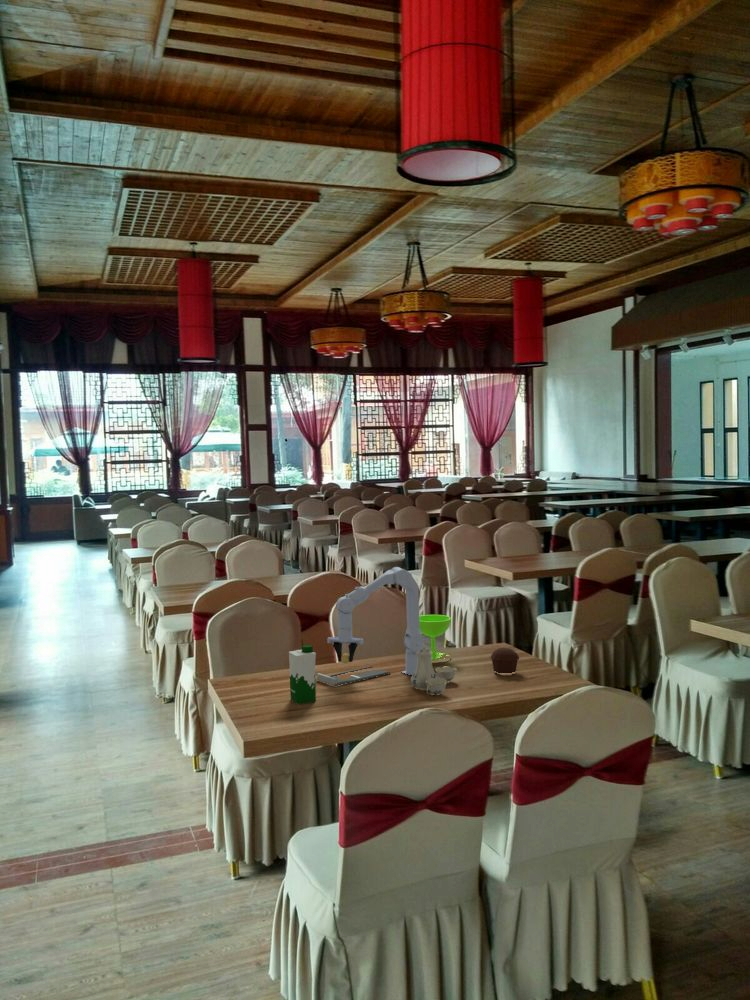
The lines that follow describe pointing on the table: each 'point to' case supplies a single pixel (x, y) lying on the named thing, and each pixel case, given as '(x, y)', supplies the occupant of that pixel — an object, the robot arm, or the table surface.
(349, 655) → the robot arm
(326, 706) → the table surface
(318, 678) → the lane mat
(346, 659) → the ball
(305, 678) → the milk carton
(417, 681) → the chinaware
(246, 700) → the table surface
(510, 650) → the muffin
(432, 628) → the wineglass
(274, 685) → the table surface
